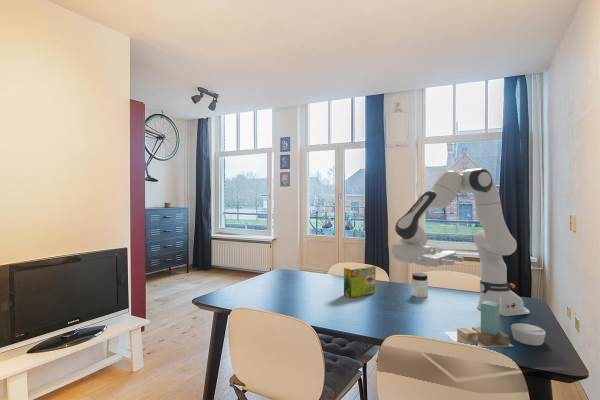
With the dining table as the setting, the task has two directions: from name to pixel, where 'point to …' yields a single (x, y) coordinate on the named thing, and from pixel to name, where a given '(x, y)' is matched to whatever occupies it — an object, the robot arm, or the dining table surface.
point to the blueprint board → (454, 337)
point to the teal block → (490, 317)
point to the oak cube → (467, 336)
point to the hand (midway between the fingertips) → (458, 261)
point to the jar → (419, 285)
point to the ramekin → (528, 334)
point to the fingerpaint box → (359, 280)
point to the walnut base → (492, 338)
